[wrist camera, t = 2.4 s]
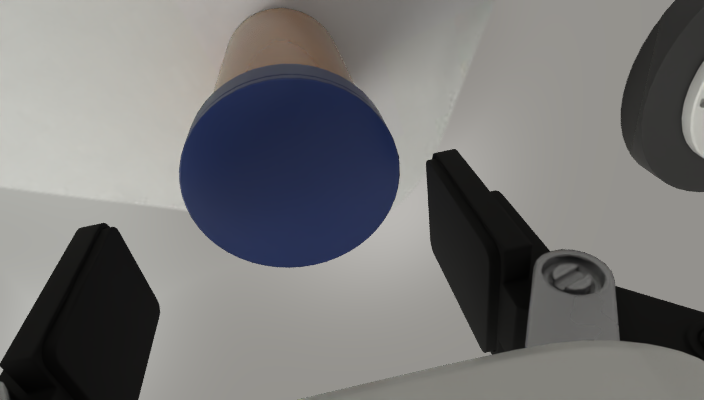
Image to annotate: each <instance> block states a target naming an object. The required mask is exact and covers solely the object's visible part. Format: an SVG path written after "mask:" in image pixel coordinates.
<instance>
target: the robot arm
mask: <svg viewBox="0 0 704 400" xmlns="http://www.w3.org/2000/svg"><path fill="white" fill-rule="evenodd" d="M682 132H683V135H684V137H685V140H686V143H687V144H688V145H689V147H690V148H691V149H692V151H693V152H695V153H696V154H698V155H699V156H701V157H702V158H704V61H703V63H702V64H701V66H700V67H699V69H698V70H697V72H696V74H695V76H694V78H693V80H692V82H691V84H690V86H689V89H688V92H687V95H686V98H685V101H684V105H683V112H682ZM426 172H427V188H428V206H429V224H430V241H431V246H432V250H433V253H434V255H435V257H436V259H437V261H438V263H439V265H440V267H441V269H442V271H443V273H444V275H445V277H446V279H447V281H448V283H449V285H450V287H451V289H452V291H453V293H454V295H455V297H456V299H457V301H458V303H459V305H460V307H461V309H462V311H463V313H464V315H465V318H466V319H467V322H468V323H469V326H470V327H471V330H472V332H473V334H474V335H475V338H476V340H477V342H478V344H479V346H480V348H481V349H482V351H483V352H484V353H486V352H491V354H492V355H489V356H485V357H480V358H476V359H471V360H466V361H462V362H457V363H452V364H448V365H443V366H439V367H435V368H430V369H426V370H422V371H418V372H413V373H409V374H405V375H400V376H396V377H392V378H388V379H384V380H379V381H375V382H371V383H366V384H362V385H358V386H353V387H349V388H345V389H341V390H336V391H332V392H328V393H324V394H320V395H315V396H311V397H307V398H303V399H298V400H704V312H701V311H697V310H694V309H691V308H687V307H684V306H680V305H677V304H674V303H671V302H667V301H664V300H660V299H657V298H654V297H650V296H647V295H644V294H640V293H637V292H634V291H630V290H627V289H624V288H620V287H617V286H615V280H614V277H613V274H612V271H611V270H610V269H609V268H608V266H607V265H606V264H605V263H603V262H602V261H601V260H599V259H598V258H596V257H594V256H592V255H590V254H587V253H585V252H580V251H575V250H563V249H561V250H555V251H549V250H548V248H547V247H546V246H545V245H544V243H543V242H542V241H541V240H540V239H539V238H538V236H537V235H536V234H535V233H534V232H533V230H531V228H530V227H529V226H528V225H527V223H526V222H525V221H524V220H523V218H522V217H521V216H520V215H519V214H518V212H517V211H516V210H515V209H514V208H513V206H512V205H511V204H510V203H509V202H508V201H507V199H506V198H505V197H504V196H503V195H502V194H501V193H500V192H499V191H491V192H490V191H489V190H488V189H487V187H486V186H485V185H484V183H483V182H482V181H481V180H480V178H479V177H478V176H477V175H476V174H475V172H474V171H473V170H472V169H471V167H470V166H469V165H468V164H467V162H466V161H465V160H464V159H463V158H462V156H461V155H460V154H459V152H458V151H457V150H456V149H452V150H447V151H443V152H438V153H434V154H433V157H432V159H431V160H427V162H426ZM159 315H160V308H159V303H158V301H157V299H156V297H155V295H154V293H153V292H152V290H151V288H150V287H149V284H148V283H147V281H146V279H145V277H144V275H143V274H142V272H141V270H140V268H139V267H138V265H137V263H136V261H135V259H134V258H133V256H132V254H131V252H130V250H129V249H128V247H127V245H126V243H125V241H124V240H123V238H122V236H121V234H120V232H119V231H118V229H117V228H115V227H109V226H108V225H107V224H105V223H101V224H97V225H92V226H87V227H82V228H79V229H78V230H77V231H76V233H75V235H74V237H73V238H72V240H71V242H70V244H69V245H68V247H67V249H66V251H65V252H64V254H63V256H62V257H61V260H60V261H59V263H58V264H57V266H56V268H55V269H54V271H53V273H52V275H51V276H50V278H49V280H48V282H47V283H46V285H45V287H44V289H43V290H42V292H41V294H40V295H39V297H38V299H37V301H36V302H35V304H34V306H33V308H32V309H31V311H30V313H29V315H28V316H27V318H26V320H25V321H24V323H23V325H22V327H21V328H20V330H19V332H18V334H17V335H16V337H15V339H14V340H13V342H12V344H11V346H10V347H9V349H8V351H7V352H6V354H5V356H4V358H3V359H2V361H1V363H0V367H1V368H2V369H3V372H2V373H1V375H0V400H138V398H139V394H140V390H141V386H142V383H143V378H144V375H145V371H146V367H147V363H148V359H149V355H150V351H151V347H152V343H153V339H154V335H155V331H156V327H157V324H158V320H159Z"/></svg>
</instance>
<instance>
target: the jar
mask: <svg viewBox="0 0 704 400" xmlns="http://www.w3.org/2000/svg"><path fill="white" fill-rule="evenodd" d="M276 64H302V65H309V66H314V67H318V68H321V69H325V70H328V71H330V72H332V73H335V74H337V75H340V76H341V77H343V78H345V79H346V80H348V81H350V82H351V83H353V84H354V82H353V80H352V78H351V76H350V74H349V72H348V70H347V67H346V65H345V63H344V61H343V59H342V57H341V55H340V53H339V51H338V49H337V47H336V45H335V43H334V41H333V39H332V37H331V36H330V34H329V33H328V31H327V30H326V29H325V28H324V27H323V26H322V25H321V24H320V23H319V22H318V21H317V20H315V19H314V18H312V17H311V16H309V15H307V14H305V13H303V12H300V11H297V10H293V9H287V8H274V9H268V10H264V11H261V12H259V13H256V14H254V15H252V16H251V17H249V18H248V19H246V20H245V21H244V22H243V23H242V24H241V25H240V26H239V27H238V28H237V29H236V31H235V32H234V34H233V35H232V37H231V39H230V41H229V44H228V47H227V50H226V53H225V57H224V60H223V63H222V66H221V69H220V73H219V76H218V79H217V82H216V86H215V89H214V92H215V91H216V90H217V89H218V88H220V87H221V86H222V85H224V84H225V83H226V82H228V81H230V80H231V79H233V78H235V77H236V76H238V75H240V74H243V73H245V72H248V71H250V70H252V69H256V68H260V67H264V66H268V65H276ZM354 85H355V84H354ZM214 92H213V93H214Z"/></svg>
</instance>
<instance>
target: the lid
mask: <svg viewBox="0 0 704 400" xmlns="http://www.w3.org/2000/svg"><path fill="white" fill-rule="evenodd" d="M399 176H400V171H399V155H398V152H397V149H396V146H395V143H394V140H393V137H392V135H391V134H390V132H389V130H388V128H387V126H386V124H385V122H384V120H383V118H382V116H381V115H380V113H379V111H378V110H377V108H376V107H375V105H374V104H373V102H372V101H371V100H370V99H369V98H368V97H367V96H366V95H365V94H364V93H363V91H361V90H360V89H359V88H358V87H356V86H355V85H354V84H353V83H351V82H350V81H348V80H346V79H345V78H343V77H341V76H340V75H337V74H335V73H332V72H330V71H328V70H325V69H321V68H318V67H314V66H309V65H302V64H276V65H268V66H264V67H260V68H256V69H252V70H250V71H248V72H245V73H243V74H240V75H238V76H236V77H235V78H233V79H231V80H230V81H228V82H226V83H225V84H224V85H222V86H221V87H220V88H218V89H217V90H216V91H215V92H214V93H213V94H212V95H211V96H210V97H209V98H208V99H207V100H206V101H205V103H204V104H203V105H202V107H201V108H200V110H199V111H198V113H197V115H196V117H195V119H194V121H193V123H192V125H191V128H190V131H189V133H188V136H187V139H186V142H185V145H184V148H183V151H182V154H181V160H180V167H179V182H180V188H181V193H182V197H183V200H184V203H185V205H186V208H187V210H188V212H189V214H190V215H191V217H192V219H193V220H194V222H195V223H196V224H197V226H198V227H199V229H200V230H201V231H202V232H203V233H204V234H205V235H206V236H207V237H208V238H209V239H210V240H211V241H213V242H214V243H215V244H216V245H218V246H219V247H221V248H222V249H224V250H225V251H227V252H228V253H231V254H233V255H235V256H237V257H239V258H241V259H244V260H247V261H250V262H252V263H257V264H261V265H265V266H272V267H289V268H290V267H303V266H309V265H315V264H319V263H323V262H327V261H329V260H332V259H335V258H337V257H339V256H341V255H343V254H345V253H347V252H349V251H351V250H352V249H354V248H355V247H357V246H359V245H360V244H361V243H363V242H364V241H365V240H366V239H367V238H369V237H370V236H371V234H373V233H374V232H375V231H376V230H377V228H378V227H379V226H380V224H381V223H382V222H383V221H384V219H385V218H386V216H387V214H388V213H389V211H390V209H391V207H392V204H393V202H394V200H395V197H396V193H397V189H398V184H399Z"/></svg>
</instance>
